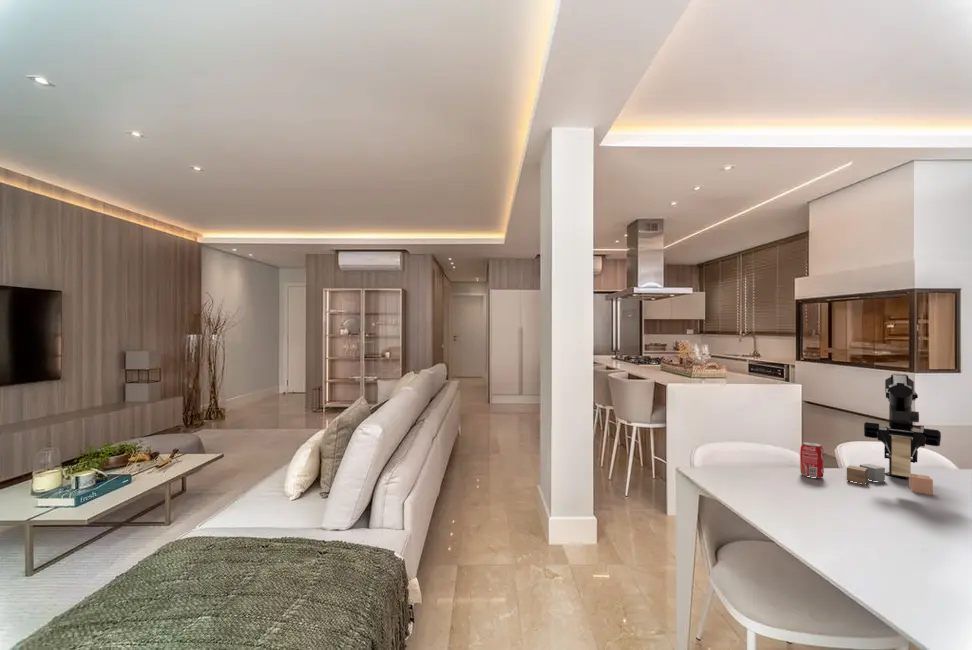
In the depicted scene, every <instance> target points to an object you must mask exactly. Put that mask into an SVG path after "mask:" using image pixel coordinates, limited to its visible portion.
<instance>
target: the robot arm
mask: <svg viewBox="0 0 972 650" xmlns="http://www.w3.org/2000/svg"><path fill="white" fill-rule="evenodd" d="M884 381H885V382H884V389H885V390H884V393H885V399H887V400H888V402H889V405H888V409H889V410H888V412H889V413H888V415H889V416H888V417H889V418H888V421H889V422H888V426H885V425H880V423H879V422H873V421H866V422H864V423H863V433H864V435H863V436H864V437H865V438H870V439H877V440H878V442H879V441H880V442H881V443H882V444H884V449H883V450H884V453H883V454H884V459H888V471H887V472H885V475H886V474H889V475H888V476H890V475H893V476H892V477H894V476H897V477H896V478H898V477H901V478H900V479H902V478H905V479H904V480H908V479H907V478H909V477H905V476H900V475H894V474H892V435H894V436H902V437H910V439H911V463H913V464H915V463H918V453H919V452H918V449H919V448H920V447H926V446H930V447H931V446H932V447H940V446H941V441H942V440H941V438H942V433H941V431H940V430H939V429H934V428H924V427H923V429H922V431H921V432H920V431H914V430H913V428H914V425H913V424H914V423H919V422H920V413H919V411H912V404H913V401H914V402H915V401H916V399H918V397H919V396H918V395H919V394H917V392H916V391H915V381H914V380H913V379H911V378H909V375H908V374H906V373H905V374H904V373H891V374H890V377H887V378H886V379H885V380H884Z"/></svg>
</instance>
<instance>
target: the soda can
mask: <svg viewBox="0 0 972 650" xmlns="http://www.w3.org/2000/svg"><path fill="white" fill-rule="evenodd" d="M824 451H825V450H824V448H823V445H822V444H821V443H818V442H812V441H811V442H810V441H803V442H802V445H800V451H799V452H800V453H799V456H800V457H799V459H800V460H799V463H800V464H799V469H800V470H799V471H800V474H801V475H802V476H804V475H805V476H810V477H816V478H819V479H821V478H823V477H824V473H825V472H824V471H825V452H824ZM805 476H804V477H805Z"/></svg>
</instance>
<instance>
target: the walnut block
mask: <svg viewBox="0 0 972 650" xmlns="http://www.w3.org/2000/svg"><path fill="white" fill-rule="evenodd" d="M847 480H848V481H853V482H857V483H862V484H865V483H866V482H867V481H868V468H863V467H860V466H855V465H851V464H850V465H848V466H847V467H846V481H847ZM868 482H869V481H868ZM868 482H867V483H868ZM857 483H856V484H857ZM867 483H866V484H867ZM866 484H865V485H866Z"/></svg>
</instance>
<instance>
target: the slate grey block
mask: <svg viewBox="0 0 972 650" xmlns="http://www.w3.org/2000/svg"><path fill="white" fill-rule="evenodd" d="M859 467H863V468H868V479H869V480H872V481H884V480H885V481H886V479H885V478H886V474H885V473H886V468H885V467H883V466H880V465H876V464H872V463H863V464H861V463H860V464H859Z"/></svg>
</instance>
